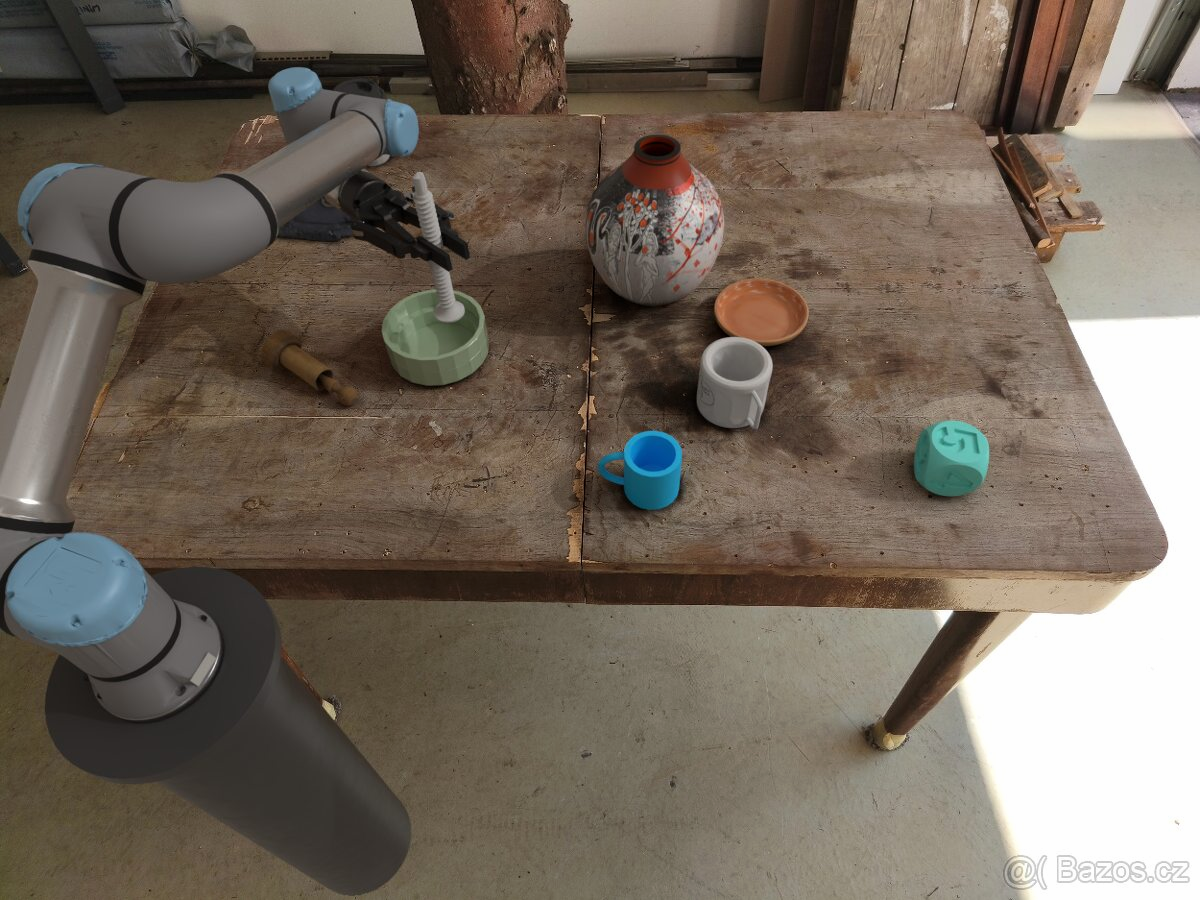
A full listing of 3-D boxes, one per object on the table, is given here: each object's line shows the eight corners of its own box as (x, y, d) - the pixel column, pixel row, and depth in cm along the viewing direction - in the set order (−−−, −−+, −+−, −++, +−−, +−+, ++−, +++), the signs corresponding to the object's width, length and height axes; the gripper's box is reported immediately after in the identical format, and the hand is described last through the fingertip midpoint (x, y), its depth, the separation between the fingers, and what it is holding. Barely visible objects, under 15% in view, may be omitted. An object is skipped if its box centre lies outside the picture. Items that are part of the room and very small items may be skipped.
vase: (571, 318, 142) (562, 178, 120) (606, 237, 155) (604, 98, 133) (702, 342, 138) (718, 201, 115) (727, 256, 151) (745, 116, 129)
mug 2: (684, 390, 131) (688, 346, 123) (743, 371, 133) (751, 327, 125) (723, 451, 123) (730, 409, 115) (785, 430, 125) (796, 387, 117)
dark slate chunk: (272, 189, 167) (264, 168, 164) (374, 196, 165) (368, 176, 161) (242, 235, 158) (232, 214, 154) (349, 243, 156) (342, 223, 152)
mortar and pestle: (270, 370, 136) (347, 425, 131) (253, 349, 130) (333, 406, 125) (298, 343, 138) (374, 395, 133) (283, 321, 132) (362, 375, 127)
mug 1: (680, 466, 122) (683, 432, 115) (677, 512, 117) (680, 479, 110) (601, 460, 123) (600, 426, 116) (595, 505, 118) (593, 472, 111)
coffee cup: (410, 155, 174) (395, 88, 162) (368, 178, 169) (348, 111, 157) (378, 136, 179) (361, 69, 167) (336, 158, 174) (315, 91, 162)
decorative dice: (972, 500, 117) (992, 467, 110) (915, 493, 118) (932, 460, 111) (966, 456, 122) (985, 422, 115) (911, 450, 122) (927, 416, 116)
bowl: (385, 391, 132) (375, 361, 127) (398, 321, 142) (389, 290, 137) (486, 387, 132) (480, 357, 127) (492, 317, 142) (486, 287, 137)
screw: (427, 157, 112) (441, 175, 109) (457, 297, 132) (469, 315, 129) (393, 168, 110) (406, 186, 108) (429, 308, 131) (440, 326, 128)
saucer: (699, 337, 138) (700, 324, 136) (731, 280, 147) (733, 268, 145) (789, 365, 134) (792, 352, 131) (817, 305, 142) (820, 292, 140)
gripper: (403, 191, 133) (500, 251, 123) (324, 237, 126) (421, 305, 116) (392, 150, 127) (494, 209, 117) (309, 196, 120) (410, 263, 110)
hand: (457, 257), depth 117 cm, fingers closed on screw, 3 cm apart
